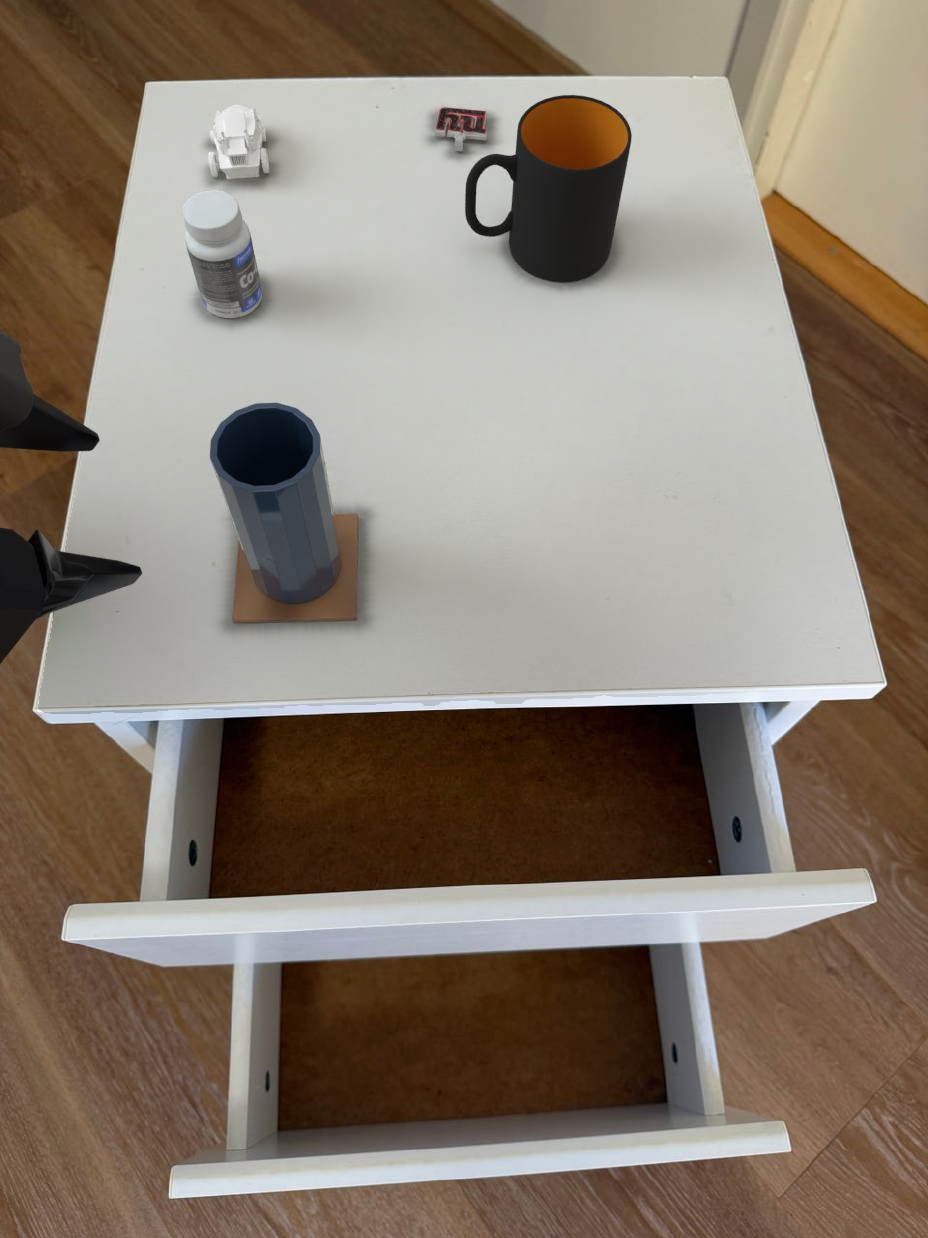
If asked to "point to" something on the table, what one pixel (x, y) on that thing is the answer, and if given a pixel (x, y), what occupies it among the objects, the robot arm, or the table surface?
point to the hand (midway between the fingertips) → (116, 506)
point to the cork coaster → (325, 608)
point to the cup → (279, 500)
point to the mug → (561, 187)
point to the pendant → (464, 119)
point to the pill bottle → (221, 254)
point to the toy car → (238, 143)
